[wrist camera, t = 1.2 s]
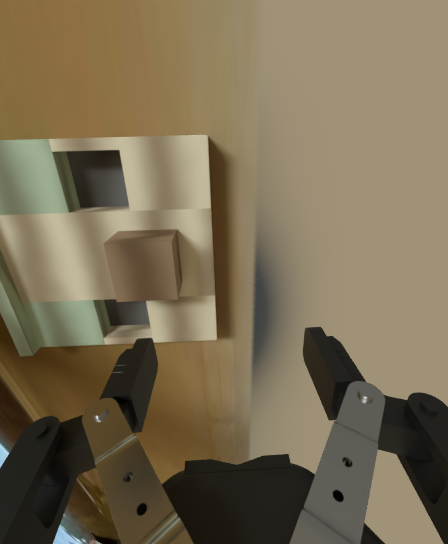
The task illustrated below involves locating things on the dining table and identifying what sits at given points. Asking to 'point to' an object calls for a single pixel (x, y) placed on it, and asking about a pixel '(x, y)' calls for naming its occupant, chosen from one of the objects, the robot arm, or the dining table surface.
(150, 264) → the walnut block
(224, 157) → the dining table surface
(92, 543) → the flower
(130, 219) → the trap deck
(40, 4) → the dining table surface
